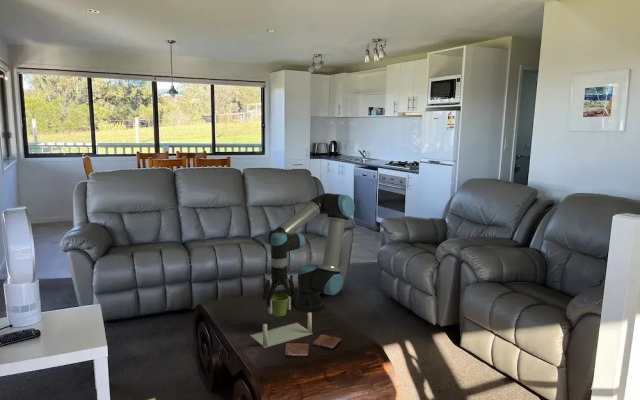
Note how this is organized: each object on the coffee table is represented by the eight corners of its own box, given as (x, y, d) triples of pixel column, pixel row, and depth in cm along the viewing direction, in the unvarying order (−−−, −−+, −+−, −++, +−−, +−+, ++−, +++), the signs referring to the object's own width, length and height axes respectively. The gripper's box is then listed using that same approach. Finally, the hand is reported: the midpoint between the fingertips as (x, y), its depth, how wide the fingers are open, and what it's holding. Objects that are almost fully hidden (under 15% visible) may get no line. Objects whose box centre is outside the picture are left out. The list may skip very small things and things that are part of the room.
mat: (296, 323, 233) (296, 303, 231) (312, 334, 220) (312, 313, 219) (250, 335, 218) (249, 315, 217) (264, 347, 206) (263, 325, 204)
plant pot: (286, 319, 213) (286, 301, 212) (267, 317, 215) (266, 299, 214) (291, 311, 223) (291, 294, 221) (273, 310, 224) (272, 293, 223)
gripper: (295, 260, 225) (295, 303, 228) (254, 267, 212) (255, 313, 216) (303, 264, 218) (303, 308, 222) (261, 271, 206) (262, 318, 209)
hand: (279, 310), depth 219 cm, fingers closed on plant pot, 9 cm apart
